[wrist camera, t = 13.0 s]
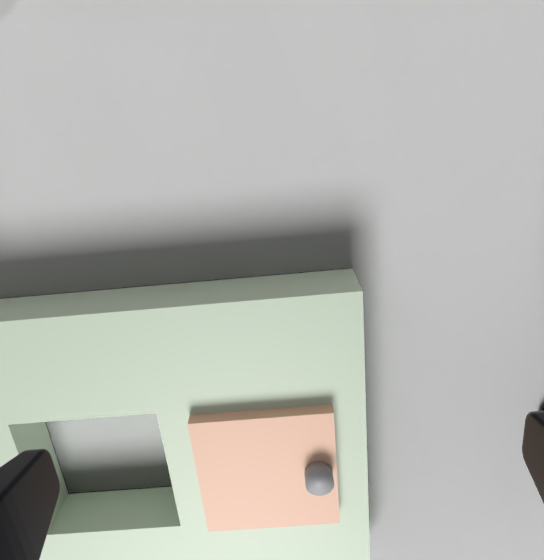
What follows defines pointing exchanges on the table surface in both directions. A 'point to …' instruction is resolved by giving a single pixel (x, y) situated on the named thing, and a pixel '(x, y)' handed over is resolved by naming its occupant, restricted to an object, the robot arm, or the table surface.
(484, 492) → the table surface
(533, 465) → the robot arm
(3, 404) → the puzzle board
